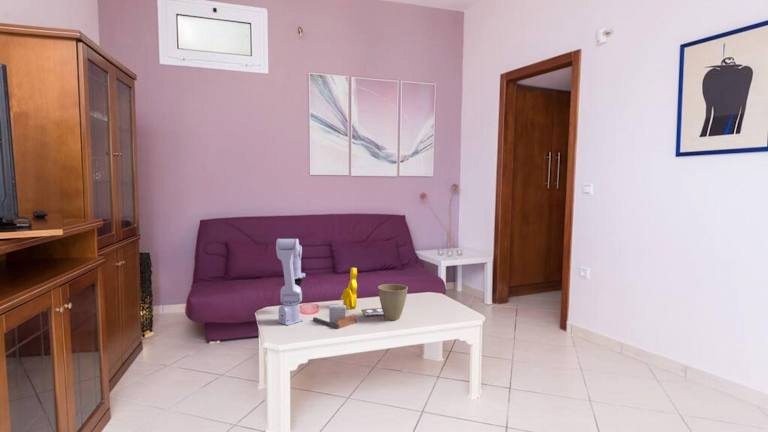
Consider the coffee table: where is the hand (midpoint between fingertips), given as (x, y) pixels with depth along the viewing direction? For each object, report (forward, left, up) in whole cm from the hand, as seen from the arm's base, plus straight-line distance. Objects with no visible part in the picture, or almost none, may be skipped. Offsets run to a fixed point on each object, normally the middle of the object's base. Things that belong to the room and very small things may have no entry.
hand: (295, 293), depth 228 cm
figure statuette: (+26, -14, -11) cm, 31 cm away
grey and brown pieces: (+4, -26, -10) cm, 29 cm away
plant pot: (+28, -43, -11) cm, 53 cm away
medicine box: (+3, -30, -11) cm, 31 cm away
